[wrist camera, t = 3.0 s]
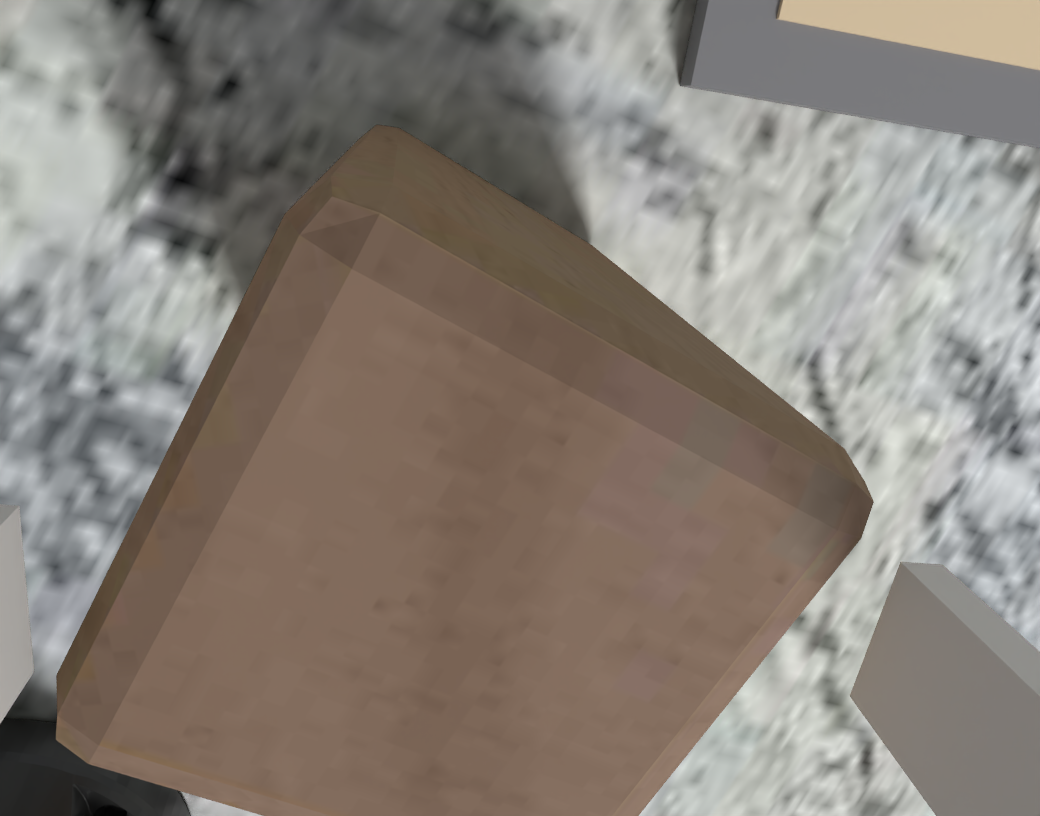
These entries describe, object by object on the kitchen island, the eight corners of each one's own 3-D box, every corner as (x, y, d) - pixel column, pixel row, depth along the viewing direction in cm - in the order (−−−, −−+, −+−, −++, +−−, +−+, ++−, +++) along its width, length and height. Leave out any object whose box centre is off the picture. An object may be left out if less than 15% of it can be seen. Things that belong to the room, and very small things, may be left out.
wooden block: (251, 352, 30) (3, 773, 11) (373, 111, 27) (311, 147, 9) (478, 461, 33) (574, 934, 14) (607, 254, 30) (926, 504, 12)
